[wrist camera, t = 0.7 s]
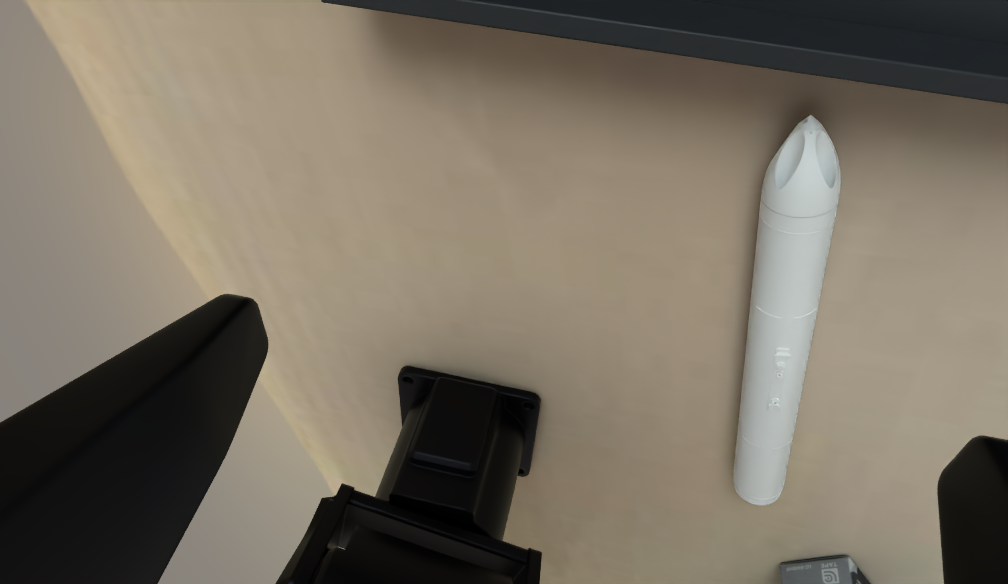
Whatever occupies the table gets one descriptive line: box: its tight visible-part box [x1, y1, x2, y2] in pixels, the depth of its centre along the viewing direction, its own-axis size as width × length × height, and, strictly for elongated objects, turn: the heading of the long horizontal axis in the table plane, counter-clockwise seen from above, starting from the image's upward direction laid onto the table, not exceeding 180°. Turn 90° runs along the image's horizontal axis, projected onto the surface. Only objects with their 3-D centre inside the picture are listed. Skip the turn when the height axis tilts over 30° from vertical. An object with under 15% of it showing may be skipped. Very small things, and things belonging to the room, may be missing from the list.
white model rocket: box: [733, 115, 841, 505], centre depth 24 cm, size 18×2×2 cm, turn 10°
